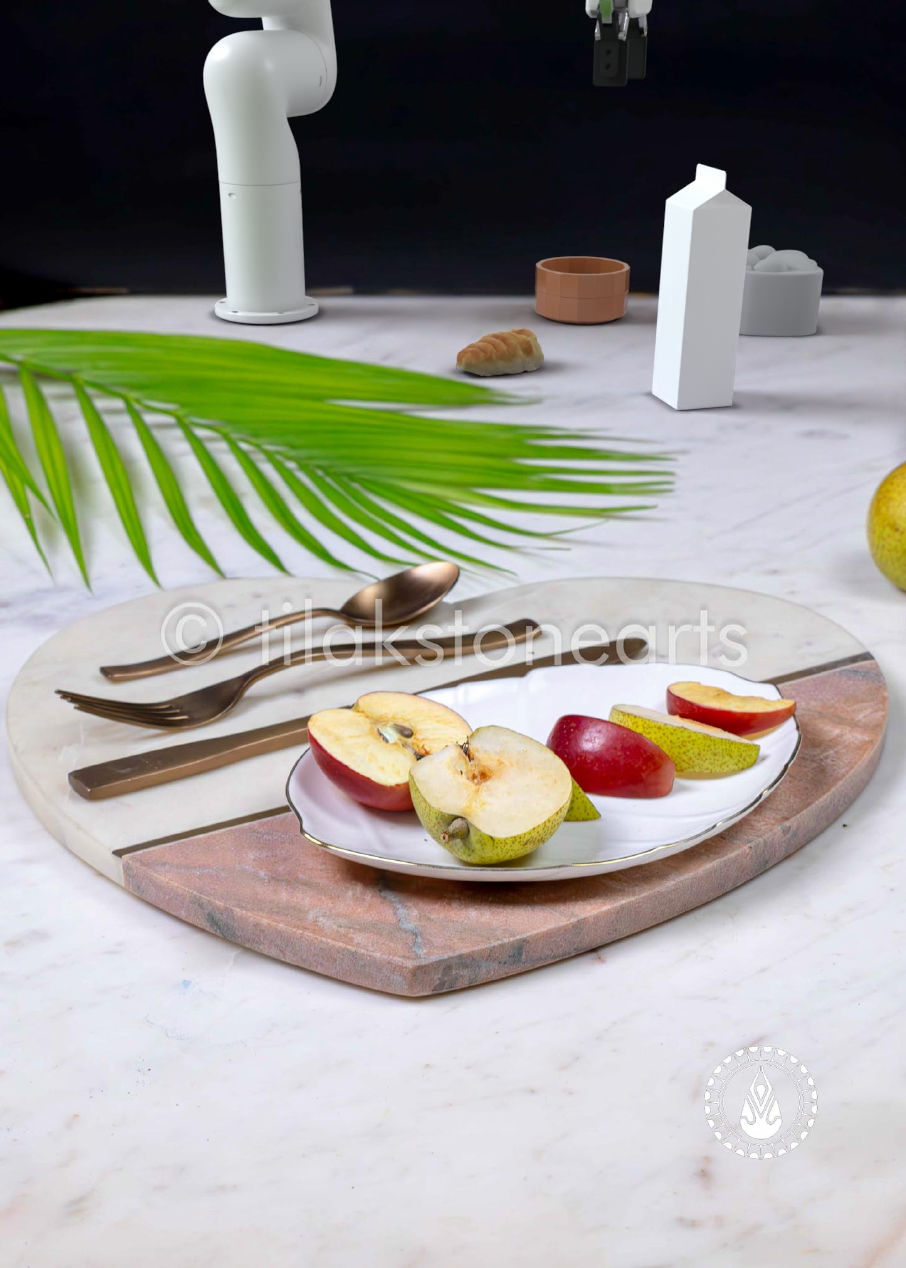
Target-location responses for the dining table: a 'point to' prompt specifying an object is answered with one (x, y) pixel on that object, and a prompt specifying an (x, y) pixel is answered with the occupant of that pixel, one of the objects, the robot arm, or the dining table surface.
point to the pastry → (502, 354)
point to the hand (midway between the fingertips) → (619, 82)
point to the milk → (700, 293)
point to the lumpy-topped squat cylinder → (780, 293)
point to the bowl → (581, 289)
